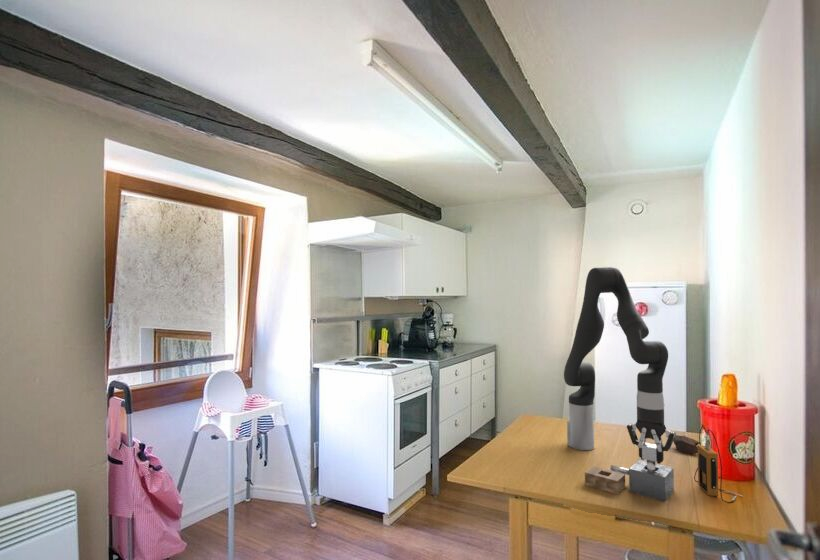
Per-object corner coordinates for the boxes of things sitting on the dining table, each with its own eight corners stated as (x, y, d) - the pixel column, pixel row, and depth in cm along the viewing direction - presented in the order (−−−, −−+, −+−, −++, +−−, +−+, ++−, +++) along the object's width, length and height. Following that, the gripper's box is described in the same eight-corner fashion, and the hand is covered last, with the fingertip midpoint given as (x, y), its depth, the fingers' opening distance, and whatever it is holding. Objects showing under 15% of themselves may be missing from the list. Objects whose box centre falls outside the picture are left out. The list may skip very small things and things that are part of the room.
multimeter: (752, 504, 131) (751, 435, 132) (714, 502, 133) (713, 433, 134) (726, 483, 146) (725, 420, 146) (692, 481, 148) (691, 419, 148)
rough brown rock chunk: (704, 439, 173) (674, 430, 179) (700, 451, 168) (670, 441, 175) (702, 451, 175) (673, 441, 182) (699, 463, 171) (669, 452, 177)
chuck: (606, 485, 145) (605, 462, 145) (616, 475, 153) (616, 454, 153) (665, 501, 134) (665, 477, 134) (673, 490, 141) (673, 467, 141)
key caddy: (585, 485, 145) (584, 472, 145) (593, 478, 150) (593, 466, 151) (617, 494, 139) (617, 481, 139) (625, 487, 144) (625, 474, 144)
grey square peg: (642, 484, 141) (641, 445, 141) (646, 480, 144) (645, 442, 144) (656, 488, 138) (656, 448, 138) (660, 484, 141) (659, 445, 141)
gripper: (622, 404, 143) (623, 458, 143) (672, 412, 134) (674, 470, 133) (629, 399, 149) (630, 452, 149) (679, 407, 139) (680, 463, 139)
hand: (651, 460), depth 141 cm, fingers closed on grey square peg, 4 cm apart
